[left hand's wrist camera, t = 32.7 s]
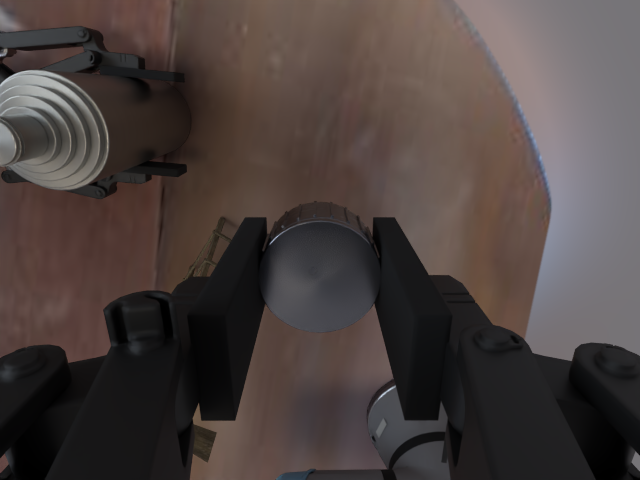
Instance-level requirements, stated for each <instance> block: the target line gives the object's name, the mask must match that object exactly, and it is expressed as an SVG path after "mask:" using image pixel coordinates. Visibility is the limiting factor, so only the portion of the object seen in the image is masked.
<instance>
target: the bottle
mask: <svg viewBox="0 0 640 480" xmlns="http://www.w3.org/2000/svg"><path fill="white" fill-rule="evenodd" d="M190 128H191V115H190V111H189V108H188V105H187V103H186V101H185V99H184V98H183V96H182V95H181V94H180V93H179V92H178V91H177V90H176V89H175V88H174V87H172V86H171V85H169V84H168V83H166V82H163V81H161V80H153V79H143V78H132V77H122V76H111V75H99V74H87V73H75V72H62V71H50V70H38V69H35V70H25V71H21V72H18V73H15V74H13V75H12V76H10V77H8V78H7V79H6V80H4V81H3V82H2V83H1V84H0V167H6V166H9V167H10V168H11V169H12V170H13V171H14V172H16V173H17V174H18V175H20V176H21V177H23V178H25V179H26V180H28V181H30V182H32V183H35V184H37V185H39V186H42V187H45V188H49V189H53V190H73V189H78V188H81V187H84V186H86V185H89V184H91V183H94V182H96V181H99V180H101V179H104V178H106V177H109V176H111V175H114V174H116V173H119V172H121V171H124V170H126V169H129V168H132V167H134V166H137V165H139V164H142V163H144V162H147V161H149V160H152V159H154V158H157V157H159V156H162V155H164V154H167V153H169V152H172V151H174V150H176V149H177V148H179V147H180V146H181V145H182V144H183V143H184V142H185V141H186V139H187V137H188V135H189V132H190Z"/></svg>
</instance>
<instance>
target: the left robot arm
mask: <svg viewBox="0 0 640 480" xmlns="http://www.w3.org/2000/svg"><path fill="white" fill-rule="evenodd" d="M266 238H267V221H266V217H245V219H244V220H243V222H242V224H241V225H240V227H239V229H238V230H237V232H236V234H235V235H234V237H233V239H232V240H231V242H230V244H229V245H228V247H227V249H226V250H225V252H224V254H223V256H222V257H221V259H220V261H219V262H218V264H217V266H216V267H215V269H214V271H213V272H212V274H211V276H210V277H189V278H188V279H186V280H185V281H183V282H181V283H180V284H178V285H177V286H176V288H175V289H174V291H173V292H172V293H171V294H170V293H167V292H163V291H142V292H136V293H132V294H129V295H126V296H123V297H120V298H118V299H116V300H115V301H113V302H111V303H110V304H109V305H108V306H107V307H106V308H105V309H104V310H103V311H104V315H105V320H106V324H107V329H108V333H109V338H110V342H111V348H110V350H109V352H108V354H107V355H105V356H101V357H97V358H92V359H87V360H82V361H77V362H71V363H68V361H67V357H66V353H65V351H64V350H63V349H62V348H61V347H59V346H54V345H37V346H36V345H34V346H29V347H27V348H26V347H25V348H21V349H18V350H16V351H15V352H12V353H10V354H8V355H5V356H3V357H1V358H0V458H1V457H2V456H3V455H4V454H5V455H6V457H7V460H8V463H9V465H8V466H7V467H6V468H5V469H4V470H3V471H2V472H1V473H0V480H190V472H191V464H192V456H193V448H194V440H195V433H194V426H193V419H192V418H193V416H194V413H195V411H196V408H197V405H198V403H199V406H200V414H201V421H235V419H236V415H237V411H238V407H239V404H240V400H241V396H242V392H243V388H244V384H245V380H246V376H247V372H248V369H249V365H250V361H251V357H252V353H253V349H254V345H255V341H256V337H257V334H258V330H259V326H260V322H261V318H262V314H263V310H264V306H265V302H264V300H263V298H262V295H261V293H260V287H259V270H258V269H259V263H260V260H261V257H262V254H263V253H261V251H262V248H263V246H264V243H265V240H266ZM372 238H373V240H374V243H375V245H376V248H377V251H378V254H379V256H380V259H379V261H380V265H381V283H380V291H379V295H378V297H377V299H376V301H375V307H376V311H377V315H378V319H379V323H380V327H381V331H382V335H383V338H384V342H385V346H386V350H387V354H388V358H389V362H390V366H391V370H392V373H393V377H394V380H392V381H390V382H389V383H387V384H386V385H384V386H383V387H382V388H381V389H380V390H379V391H378V392H377V393H376V394H375V395H374V397H373V398H372V400H371V402H370V404H369V406H368V410H367V425H368V431H369V435H370V438H371V440H372V442H373V444H374V446H375V448H376V449H377V450H378V452H379V455H380V456H381V458H382V460H383V462H384V463H385V465H386V467H387V469H386V470H316V469H310V470H308V471H303V472H290V473H284V474H282V475H280V476H279V477H278V478H277V479H276V480H640V471H639V470H638V469H637V468H636V467H635V466H634V465H633V464H632V463H631V462H632V459H633V456H634V454H635V451H636V452H637V453H638V454H639V455H640V356H639V355H637V354H635V353H632V352H630V351H628V350H626V349H624V348H622V347H619V346H613V345H611V344H602V343H587V344H581V345H580V346H579V347H577V348H576V349H575V352H574V356H573V359H572V361H568V360H562V359H557V358H552V357H546V356H542V355H538V354H534V353H532V351H531V349H530V347H529V345H528V344H527V343H526V341H525V340H524V339H523V338H522V337H520V336H519V335H517V334H516V333H514V332H513V331H510V330H508V329H505V328H503V327H500V326H495V325H493V324H492V323H491V322H490V320H489V319H488V318H487V316H486V315H485V314H484V312H483V311H482V310H481V308H480V307H479V305H478V304H477V303H475V300H474V299H473V297H472V296H471V295H469V292H468V291H467V289H466V288H465V287H464V285H463V284H462V283H461V282H459V281H457V280H456V279H454V278H453V277H451V276H449V275H428V273H427V271H426V269H425V268H424V266H423V264H422V263H421V261H420V259H419V258H418V256H417V254H416V253H415V251H414V249H413V248H412V246H411V244H410V243H409V241H408V239H407V237H406V236H405V234H404V232H403V231H402V229H401V227H400V226H399V224H398V222H397V221H396V219H395V217H373V236H372Z"/></svg>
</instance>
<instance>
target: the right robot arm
mask: <svg viewBox="0 0 640 480" xmlns="http://www.w3.org/2000/svg"><path fill="white" fill-rule="evenodd" d="M80 46H83V48H84V51H85V52H83V53H80V54H78V55H75V56H73V57H70V58H67V59H65V60H62V61H60V62H57V63H54V64H52V65H49V66H47V67H44V68H41V69H39V70H50V71H62V72H75V73H87V74H90V73H93V72H96V71H98V70H100V74H101V75H112V76H122V77H132V78H143V79H153V80H164V81H174V82H184V74H182V73H175V72H165V71H154V70H145V59H144V58H142V57H140V56H138V55H133V54H124V53H113V52H109V51H108V50H107V49H106V48H105V46H104V44H103V35H102V34H101V33H100V32H99V31H97V30H93V29H90V28H86V27H82V26H76V27H64V28H53V29H41V30H30V31H18V32H4V31H0V84H1V83H2V82H3V81H4V80H6V79H7V78H8V77H10V76H12V75H13V74H15V72H14V71H12V70H11V69H10V68H8V67H7V66H6V65H5V64H3V63H2V61H3V59H4V58H6V57H12V56H13V55H14V54H16V52H17V51H16V50H23V51H33V50H45V49H57V48H69V47H80ZM6 169H7V171H4V172H2V175H1V176H2V179H3V180H4V181H5V182H7V183H17V182H30V181H28V180H26V179H25V178H23V177H21V176H20V175H18V174H17V173H16V172H14V171H13V170H12V169H11V168H10V167H9V166H6ZM186 172H187V165H186V164H175V163H164V162H153V161H147V162H144V163H142V164H139V165H137V166H134V167H132V168H129V169H126V170H124V171H121V172H119V173H116V174H114V175H111V176H109V177H106V178H104V179H101V180H99V181H96V182H94V183H91V184H89V185H86V186H84V187H81V188H78V189H73V190H64V191H68V192H72V193H76V194H80V195H84V196H88V197H92V198H97V199H103V198H105V197H107V196H109V195H111V194H113V193H115V192H116V191H117V187H116V184H117V182H126V183H137V184H142V183H145V182H147V181H149V180H151V179H152V177H151V175H160V176H172V177H179V176H181V175H182V174H184V173H186ZM31 183H32V182H31Z"/></svg>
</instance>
